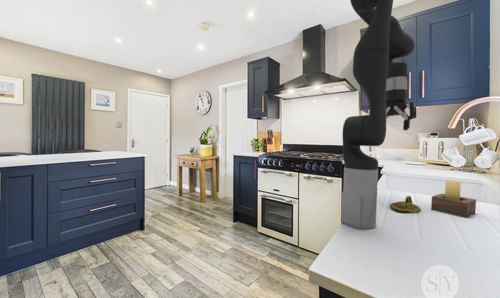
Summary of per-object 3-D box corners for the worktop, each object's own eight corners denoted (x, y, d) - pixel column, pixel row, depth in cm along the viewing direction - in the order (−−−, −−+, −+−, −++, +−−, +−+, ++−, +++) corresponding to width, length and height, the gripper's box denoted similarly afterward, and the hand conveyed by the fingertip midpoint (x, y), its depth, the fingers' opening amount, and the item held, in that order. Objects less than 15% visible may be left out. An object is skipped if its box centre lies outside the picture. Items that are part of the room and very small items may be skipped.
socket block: (466, 217, 71) (467, 203, 71) (431, 209, 79) (431, 196, 79) (475, 213, 76) (476, 199, 76) (441, 205, 84) (441, 193, 84)
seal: (415, 220, 72) (422, 210, 82) (418, 207, 71) (425, 198, 81) (384, 210, 78) (394, 202, 89) (386, 198, 78) (396, 191, 88)
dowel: (457, 210, 75) (458, 183, 75) (442, 207, 78) (443, 181, 78) (460, 209, 77) (462, 182, 77) (446, 206, 81) (447, 180, 80)
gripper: (372, 92, 89) (370, 130, 89) (411, 85, 77) (409, 129, 77) (381, 94, 93) (380, 131, 93) (420, 88, 80) (418, 130, 81)
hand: (393, 130), depth 85 cm, fingers open, 8 cm apart
